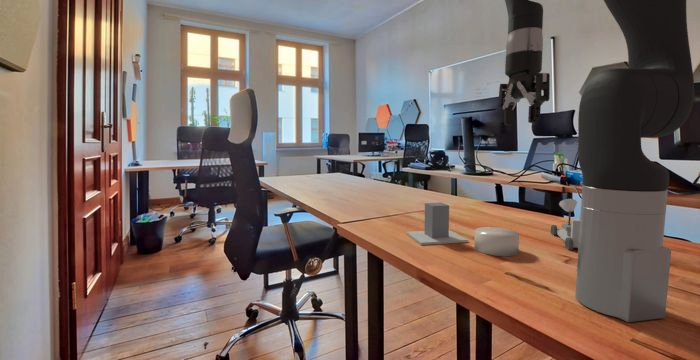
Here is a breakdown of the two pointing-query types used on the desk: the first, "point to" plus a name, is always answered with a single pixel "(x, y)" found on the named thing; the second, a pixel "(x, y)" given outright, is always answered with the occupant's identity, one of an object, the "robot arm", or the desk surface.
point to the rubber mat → (426, 240)
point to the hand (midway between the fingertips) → (520, 124)
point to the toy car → (568, 226)
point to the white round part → (496, 241)
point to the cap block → (436, 220)
